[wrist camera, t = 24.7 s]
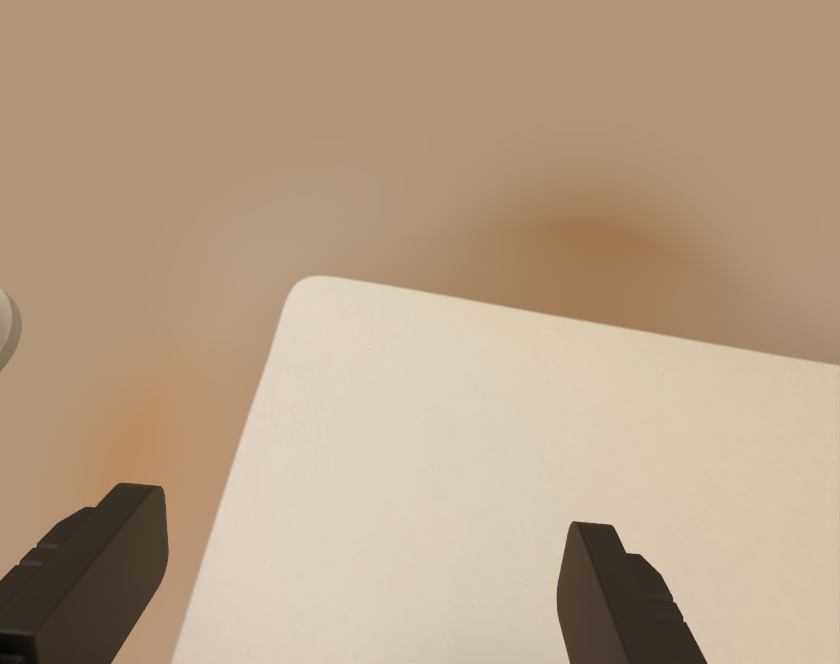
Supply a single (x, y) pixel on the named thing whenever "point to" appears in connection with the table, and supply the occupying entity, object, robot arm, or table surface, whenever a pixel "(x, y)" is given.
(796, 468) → the table surface
